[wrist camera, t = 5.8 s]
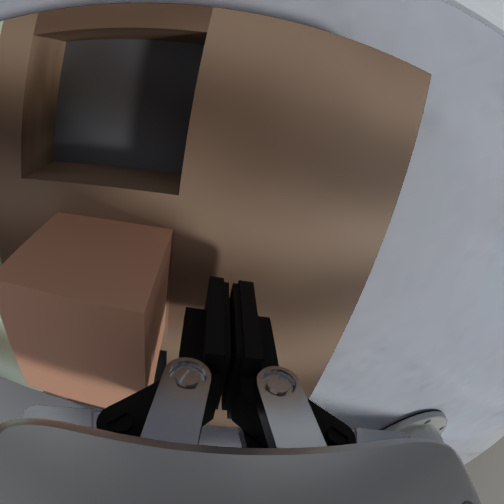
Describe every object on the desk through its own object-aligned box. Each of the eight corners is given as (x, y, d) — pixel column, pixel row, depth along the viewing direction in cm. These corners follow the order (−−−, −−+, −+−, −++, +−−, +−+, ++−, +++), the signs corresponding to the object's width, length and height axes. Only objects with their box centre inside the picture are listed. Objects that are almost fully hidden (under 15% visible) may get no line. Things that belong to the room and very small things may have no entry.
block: (164, 327, 14) (147, 416, 10) (67, 307, 13) (27, 384, 9) (172, 229, 12) (144, 312, 7) (58, 212, 11) (-11, 277, 7)
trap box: (283, 385, 23) (294, 446, 18) (-7, 333, 19) (-36, 378, 14) (387, 74, 13) (453, 75, 8) (-37, 48, 9) (-98, 53, 4)
